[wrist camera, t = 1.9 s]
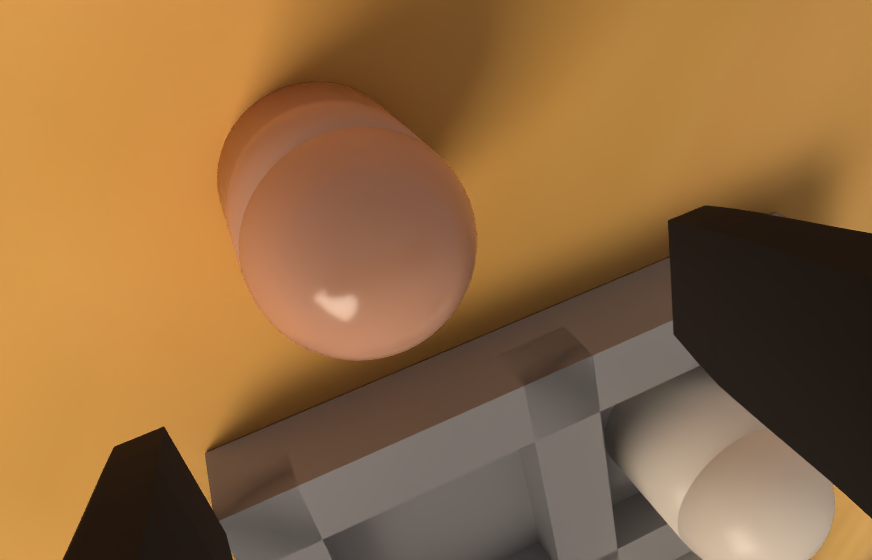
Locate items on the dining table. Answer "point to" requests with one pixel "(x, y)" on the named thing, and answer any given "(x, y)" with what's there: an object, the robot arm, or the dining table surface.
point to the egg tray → (530, 454)
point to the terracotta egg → (344, 222)
